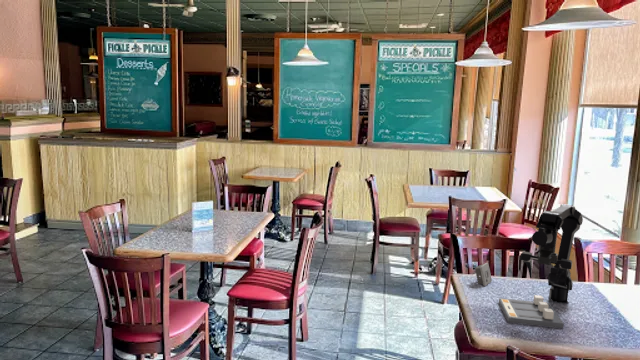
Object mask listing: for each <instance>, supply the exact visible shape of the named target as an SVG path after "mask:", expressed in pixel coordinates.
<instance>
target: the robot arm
mask: <svg viewBox="0 0 640 360" xmlns="http://www.w3.org/2000/svg"><path fill="white" fill-rule="evenodd" d="M583 221H584V219H583V215H582V213H581V212H580V211H579V210H578V209H576V206H574V205H571V204H565V203H563V204H561V205H560V206H559V207H557V208H555V209H554V210H545V211H543V212H542V213H541V214H540V215H539V218H538V220H537V222H536V223H537V224H536V226H535V228H537V231H535V232H533V234H532V235H531V239H532V242H533V243H534V244H535V245H536V246H538V247H539V249H538V252H537V255H534V254H533V252H530V251H522V252H521V253H520V255H519V260H520V261H522V262H523V263H525V264H526V268H527V270H528V275H529V279H532V277H533V261H537V263H538V264H540V265H541V264H543V265H546V266H551V265H553V264H554V266H552V267H551V268H550V272H549V273H548V277H547V281H548V282H547V283H548V284H547V285H548V286H549V287H550V288H549V291H548V292H549V294H548V298H549V299H550V300H551V302H553V303H559V304H561V303H562V304H570V302H569V301H568V298H569V291H572V290H573V288H574V287H573V285H574V284H573V280H572V277H571V274H572V273H571V271H570V270H572V268H573V261H572V260H571V259H570V258H571V253H572V247H573V242H574V236H575V234H576V233H577V232H578V231H579V230H580V228H581V226H582V224H583ZM560 230H562V231H561V232H562V233H561V239H560V244H559V249H558V253H556V246H557V239H558V233H559V231H560Z"/></svg>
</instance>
